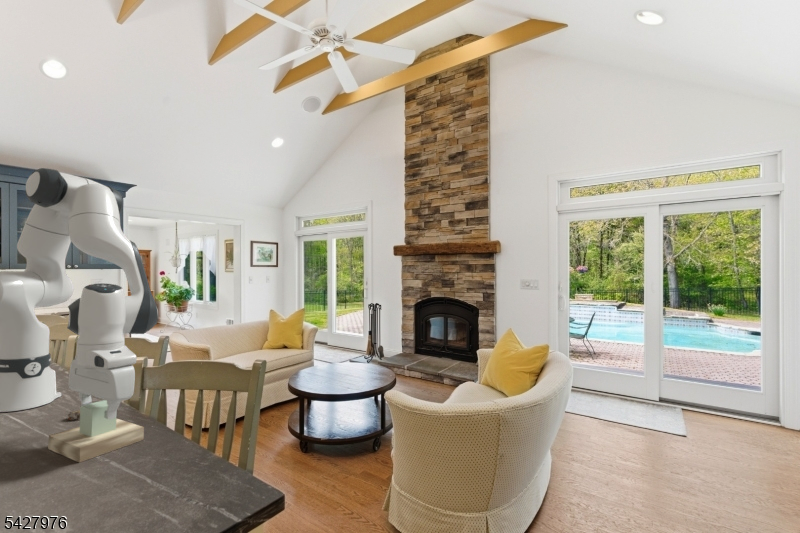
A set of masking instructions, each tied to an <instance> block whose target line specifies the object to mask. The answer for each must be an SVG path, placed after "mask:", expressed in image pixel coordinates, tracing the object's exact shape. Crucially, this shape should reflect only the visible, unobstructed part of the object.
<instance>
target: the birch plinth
mask: <svg viewBox="0 0 800 533" xmlns="http://www.w3.org/2000/svg"><path fill="white" fill-rule="evenodd" d="M79 430H80V426H76V427H74V428H70V429H67V430H64V431H59V432H55V433H53V434H48V443H47V444H48V445H47V447H48V448H47V449H48V450H49V451H52V452H54V453H57V454H59V455H62V456H63V457H66V458H68V459H70V460H73V461H75V462H78V463H82V462H85V461H88V460H91V459H93V458H96V457H99V456H102V455H104V454H108V453H110V452H113V451H116V450H119V449H121V448H125V447H128V446H131V445H132V444H133V445H134V444H135V443H138V442H141V441H144V440H145V426H142V425H139V424H135V423H133V422H129V421H127V420H124V419H123V420H122V419H119V418H117V417H116V430H113V431H109V432H106V433H103V434H100V435H97V436H94V437H90V436H87V435H84V434H82V433H79Z"/></svg>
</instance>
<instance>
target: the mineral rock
mask: <svg viewBox="0 0 800 533" xmlns="http://www.w3.org/2000/svg"><path fill="white" fill-rule="evenodd" d="M67 416H68V418H67V420H68V421H72V422H75V421H77V422H78V421H79V422H80V409H78V410H77V411H74V410H72V411H70V412H69V413H68V415H67Z"/></svg>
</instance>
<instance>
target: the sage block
mask: <svg viewBox="0 0 800 533" xmlns="http://www.w3.org/2000/svg"><path fill="white" fill-rule="evenodd" d="M107 408H108V404H107V400H105V399H102V400H100V401H96V402H95V401H94V402H93V403H91V404H87V405H83V406H82V405H80V409H79V410H80V420H79V427H80V430H79V433H82V434H84V435H87V436H90V437H94V436H97V435H100V434H103V433H106V432H109V431H113V430H116V418H117V415H116V417H115V418H113V419H110V420H109V419H106V418H104V415H105V414H104V411H106V410H107Z"/></svg>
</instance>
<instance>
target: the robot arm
mask: <svg viewBox="0 0 800 533" xmlns="http://www.w3.org/2000/svg"><path fill="white" fill-rule="evenodd" d="M25 195H26V198H27V199H28V201H30V203H32V204H34V205H33V206H32V208H31V210H30V211H29V214H28V216H27V218H26V221H25V223H24V226H23V229H22V231H21V234H20V236H19V238H18V240H17V244H16V249H17V251H18V253H19V254H20V255H21V256H23V258H25V260H26V265H25V269H24V270H23V271H20V270H19V271H17V270H15V271H14V270H10V271H9V270H7V271H6V270H5V271H4V270H3V271H0V413H6V412H16V411H23V410H29V409H33V408H38V407H41V406H44V405H47V404H50V403H52V402H53V401H55V399H57V398H60V397H62V392H60V391H57V379H56V376H57V375H56V371H55V370H54V369H52V368H51V367H50V366H51V361H52V355H51V353H50V336H51V335H50V334H51V333H50V332H51V330H50V327H49V326H48V325H47V324H45V323H43V322H41V321H40V320H39V319H38V318H37V315H36V311H35V308H37V309H38V308H47V307H53V306H56V305H60V304H62V303H65V302H67V301H69V299H71V297H72V295H73V293H74V289H75V288H74V287H75V286H74V283H73V281H72V279H71V278H70V277H69V276H68V273H67V272H66V260H67V259H66V258H67V255H68V251H69V248H70V246H71V243H72V244H73V246H74V247H76V248H77V249H78V250H79V251H81V252H83V253H84V254H86V255H88V256H91V257H93V258H98V259H101V260H103V261H107V262H108V263H109V262H110V263H111V264H114V265H116V266H118V267H119V268H121V269H122V271H123V272H124V274H125V278H126V281H127V285H128V289H129V292H130V295H125V293H124V289H123V287H122V286H120V285H118V284H114V283H113V284H112V283H91V284H88V285H85V286H84V287H83V288H82V292H81V296H80V297H79V298H77V299H75V300H74V301H73V302H71V303H70V304H69V305H68V306H67V308H68V311H69V313H68V314H69V315H68V324H67V330H69V331H71V332H72V333H74V334H75V335H77V336H78V339H77V341H76V354H75V356H74V359H73V360H71V361H72V362H71V363H70V368H69V375H68V387H69V390H71V391H73V392H77V393H78V398H79V400H80V404H81V406H83V405H87V404H91V403H94V402H93V400H92V397H94V398H98V399H101V400H106V401H107V404H108V408H107V410H106V411H104V414H105V415H104V418H106V419H109V420H110V419H113V418H115V417H116V418H117V416H116V415H117V413H118V411H117V410H118V408H119V406H120V405H121V402H124V401H127V400H130V399H131V398H132V396H133V395H134V391H135V381H136V380H135V378H136V371H135V367H134V365H135V364H136V363H137V355H136V354H135V352H133V351H132V350H130V348H128V346H127V345H126V344H125V343H126V342H125V340H126V339H125V338H126V337H125V334H129V335H144V334H146V333H148V332H149V331H150V330H152V329H153V328H154V327H155V326H156V325H157V323H158V320H159V310H158V307H157V303H156V301H155V298H154V296H153V294H152V291H151V288H150V284H149V281H148V280H149V279H148V277H147V274H146V271H145V267H144V263H143V261H142V257H141V253H140V252H139V249H138V247H137V245H136V243H135V242H134V241H132V240H131V239H130V240H129V239H128V237H127V236H126V235H125V233H124V232H123V230H122V227H121V216H120V214H121V212H122V210H123V207H124V199H123V195H122V193H121V192H119V191H118V190H117V189H115V188H114V187H112V186H109V185H104V184H102V183H100V182H98V181H94V180H92V179H89V178H87V177H81V176H78V175H76V174H74V175H73V174H72V173H71V174H70V173H66V172H61V171H58V170H57V169H53V168H48V167H47V168H46V167H45V168H44V167H43V168H42V167H41V168H38V169H35V170H34V171H33V172H32V173H31V174H30V175H29V176H28V179H27V180H26V182H25Z"/></svg>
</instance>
